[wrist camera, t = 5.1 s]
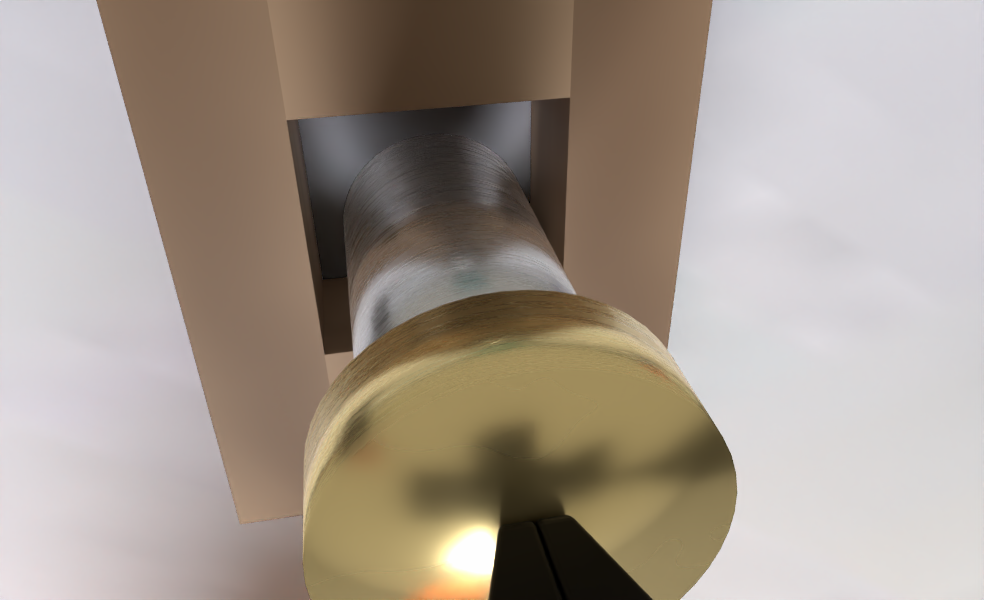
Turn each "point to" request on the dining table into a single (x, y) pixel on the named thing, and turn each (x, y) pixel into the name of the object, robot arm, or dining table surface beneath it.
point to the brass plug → (493, 400)
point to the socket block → (376, 89)
